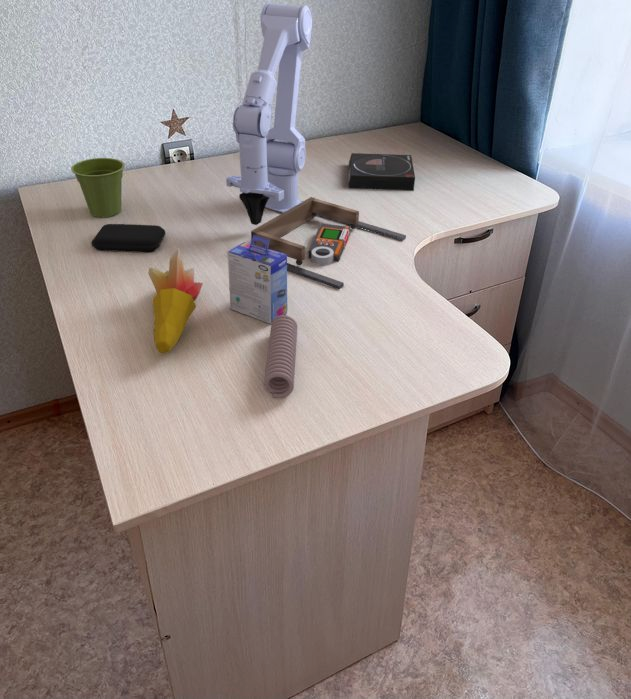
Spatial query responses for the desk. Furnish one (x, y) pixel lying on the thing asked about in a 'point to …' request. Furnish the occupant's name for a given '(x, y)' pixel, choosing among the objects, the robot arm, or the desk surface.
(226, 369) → the desk surface
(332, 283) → the track
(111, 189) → the plant pot
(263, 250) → the ink cartridge box
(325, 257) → the electronic device
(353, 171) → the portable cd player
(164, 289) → the torch
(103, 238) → the carrying case or bag
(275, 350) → the coil
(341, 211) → the dolly
